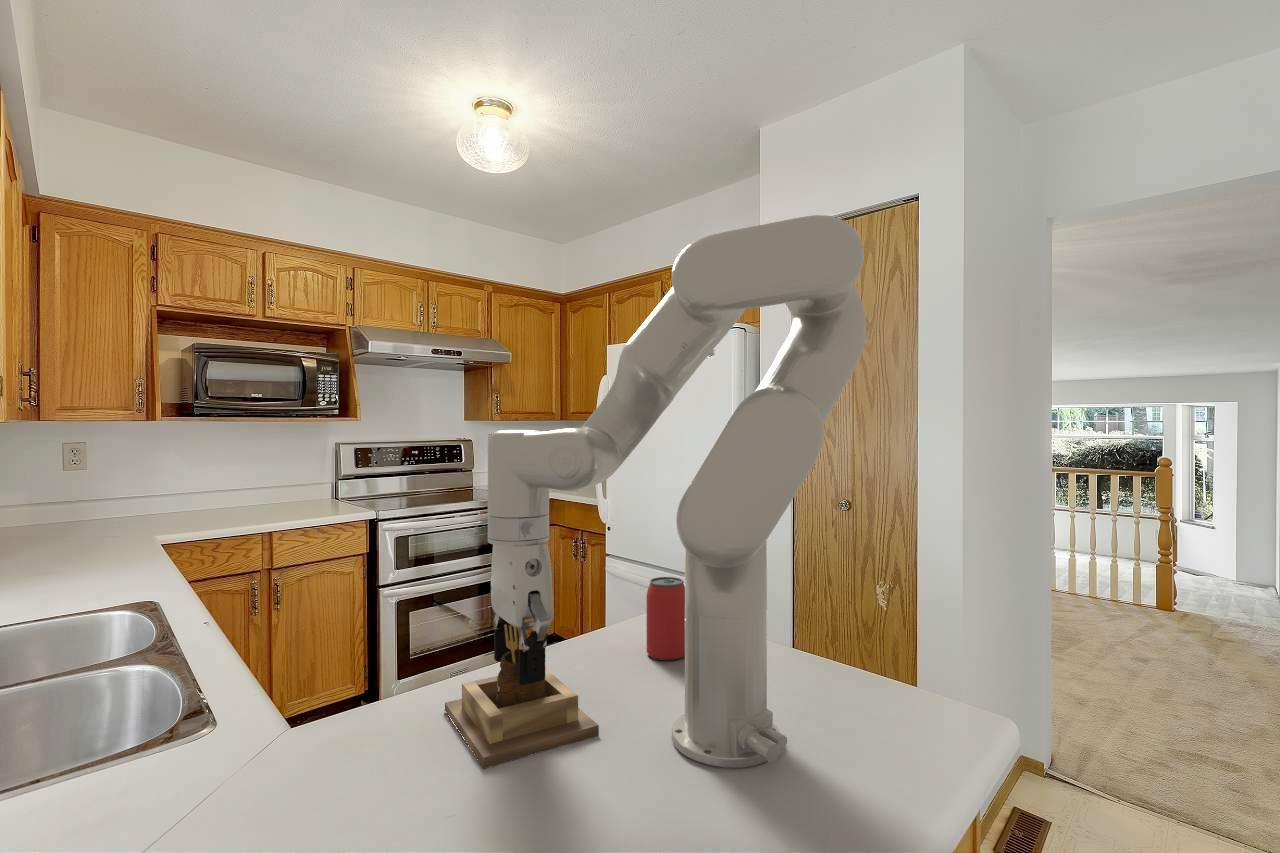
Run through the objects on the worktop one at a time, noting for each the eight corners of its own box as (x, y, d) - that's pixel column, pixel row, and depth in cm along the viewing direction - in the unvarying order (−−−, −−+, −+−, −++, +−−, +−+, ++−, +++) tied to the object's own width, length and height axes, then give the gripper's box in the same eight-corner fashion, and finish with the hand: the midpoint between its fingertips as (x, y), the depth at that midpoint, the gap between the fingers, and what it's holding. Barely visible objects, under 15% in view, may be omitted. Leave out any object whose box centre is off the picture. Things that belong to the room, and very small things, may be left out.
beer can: (694, 652, 102) (694, 579, 103) (674, 665, 97) (674, 587, 97) (659, 645, 106) (659, 574, 106) (638, 657, 100) (638, 582, 100)
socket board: (598, 735, 75) (598, 699, 75) (483, 768, 67) (483, 729, 67) (545, 688, 88) (545, 658, 88) (444, 711, 81) (444, 679, 81)
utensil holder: (552, 705, 80) (554, 611, 79) (530, 728, 74) (532, 628, 73) (510, 698, 81) (512, 606, 81) (485, 720, 75) (487, 622, 75)
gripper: (576, 536, 72) (576, 688, 72) (521, 518, 87) (521, 644, 87) (514, 542, 68) (514, 703, 68) (468, 522, 83) (468, 654, 83)
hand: (518, 669), depth 78 cm, fingers open, 8 cm apart
